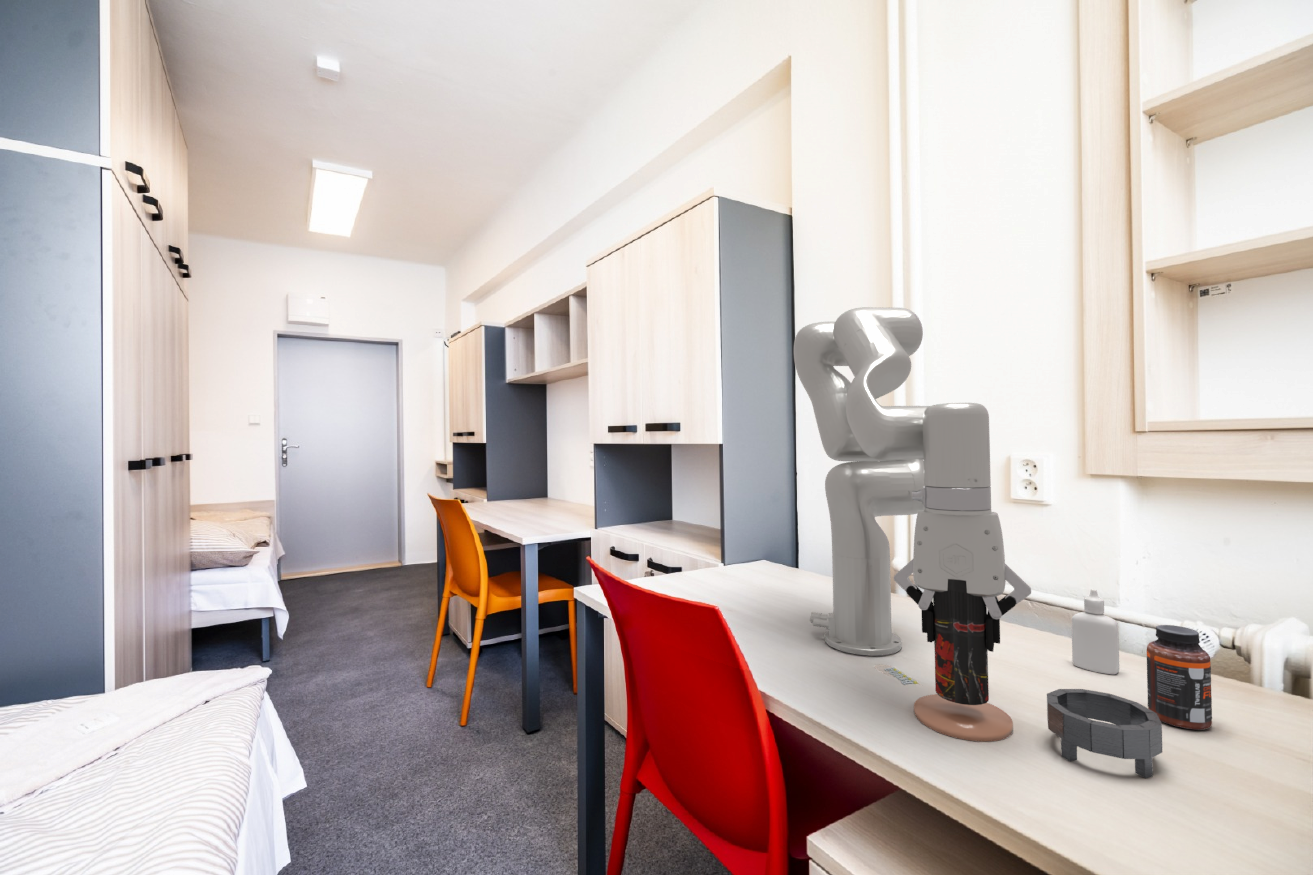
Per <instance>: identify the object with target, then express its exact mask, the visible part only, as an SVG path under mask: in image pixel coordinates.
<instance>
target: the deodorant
mask: <svg viewBox="0 0 1313 875" xmlns="http://www.w3.org/2000/svg"><path fill="white" fill-rule="evenodd" d="M932 602H933V606H934V642H933V644H934V681H935V682H934V685H935V686H934V687H935V689H934V690H935V694H938V695H939V696H940V697H942V698H943V699H946V700H948V701H951V702H954V703H959V704H965V705H982V704H985V703H989V700H990V697H989V696H990V695H989V692H990V691H989V689H990V688H989V660H988V658H989V654H988V652H989V651H988V650H986V616H987V614H988V608H987V606H986V604H985V602H984V599H983V596H974V595H971V594H968V593H967V585H966V581H964V580H954V579H948V588H947V591H944V592H936V591H935V593H934V596H933V599H932Z"/></svg>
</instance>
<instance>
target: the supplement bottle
mask: <svg viewBox="0 0 1313 875" xmlns="http://www.w3.org/2000/svg"><path fill="white" fill-rule="evenodd" d="M1155 636H1156V638H1157V639H1156V640H1153V641H1150V642H1149V643H1148V644H1147V646H1146V680H1147V681H1146V682H1147V683H1146V684H1147V708H1148V709H1150V710H1152V711H1153V712H1155V713H1156V714H1157V715H1158V717H1159V719H1160V721H1161V723H1164V724H1167V725H1170V726H1174V727H1175V728H1176V727H1177V728H1181V729H1186V730H1194V731H1203V730H1207V729H1209V728H1211V727H1212V725H1213V724H1212V720H1213V708H1212V707H1213V705H1212V704H1213V701H1212V700H1213V698H1212V666H1211V664H1212V663H1211V656H1210V654H1209V653H1208V652H1207V651H1206V650H1205V649H1203V648H1202V647H1201V645H1200V642H1201V641H1200V633H1199V632H1198V631H1197V630H1196V629H1192V628H1190V627H1185V626H1181V625H1174V624H1173V625H1171V624H1159V625H1156V626H1155Z"/></svg>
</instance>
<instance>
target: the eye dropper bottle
mask: <svg viewBox="0 0 1313 875" xmlns="http://www.w3.org/2000/svg"><path fill="white" fill-rule="evenodd" d="M1083 603H1084V604H1083V606H1084V607H1083V608H1084V609H1083V610H1084V611H1081V612H1077V613H1075V614H1073V615H1072V617H1071V649H1072V650H1071V653H1072V655H1071V656H1072V658H1071V659H1072V664H1073V665H1074V666H1076V667H1078V668H1079V669H1083V670H1085V671H1086V670H1087V671H1090V672H1094V673H1098V674H1106V675H1116V674H1118V673H1119V671H1120V639H1119V638H1120V637H1119V636H1120V633H1119V625H1118V622H1117V620H1115V619H1114V618H1112V617H1111V616H1108V615H1105V600H1104V599H1103V598H1100V596H1099V594H1098V591H1097V589H1094V588H1093V589H1090V593H1089V595H1088V596H1086V597H1084V599H1083Z"/></svg>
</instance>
